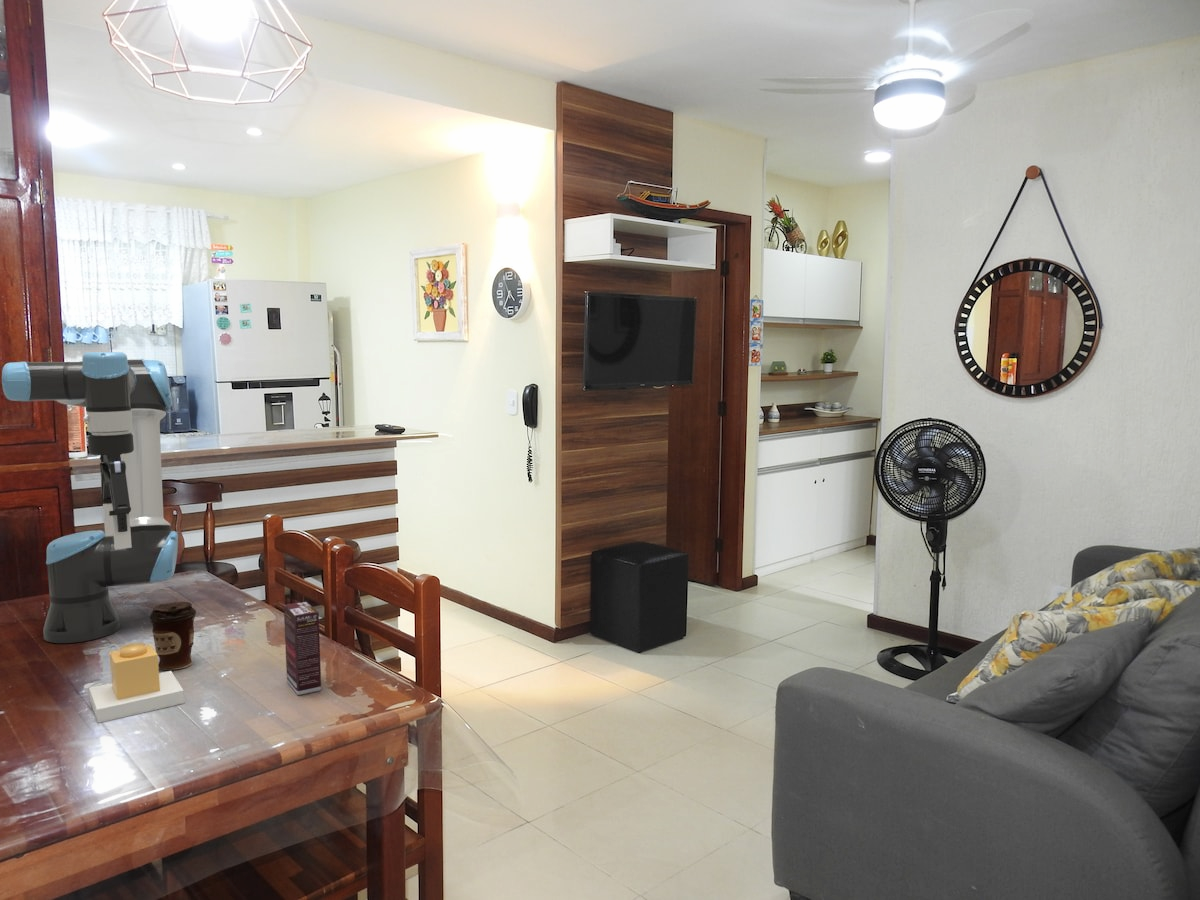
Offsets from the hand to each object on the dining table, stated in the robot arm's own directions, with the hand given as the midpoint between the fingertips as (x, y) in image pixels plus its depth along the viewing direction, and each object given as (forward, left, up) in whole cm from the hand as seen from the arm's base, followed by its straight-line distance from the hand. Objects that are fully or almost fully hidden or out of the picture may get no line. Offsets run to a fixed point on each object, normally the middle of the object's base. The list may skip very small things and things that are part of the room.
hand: (118, 541), depth 163 cm
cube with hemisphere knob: (+11, 0, -26) cm, 28 cm away
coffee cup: (-4, +9, -29) cm, 31 cm away
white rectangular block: (+11, 0, -29) cm, 31 cm away
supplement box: (+22, +28, -29) cm, 46 cm away
